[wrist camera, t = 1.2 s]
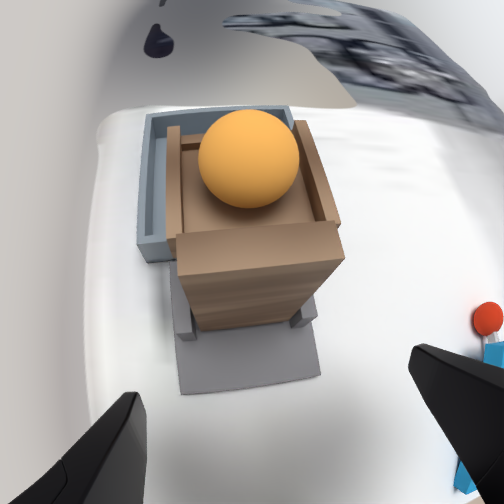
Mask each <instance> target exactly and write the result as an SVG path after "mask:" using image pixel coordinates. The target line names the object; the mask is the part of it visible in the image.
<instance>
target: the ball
mask: <svg viewBox="0 0 504 504" xmlns="http://www.w3.org/2000/svg"><path fill="white" fill-rule="evenodd" d="M198 164H199V170H200V174H201V177H202V179H203V181H204V183H205V185H206V186H207V187H208V189H209V190H210V191H211V192H212V193H213V194H214V195H215V196H216V197H217V198H219V199H220V200H221V201H223V202H225V203H227V204H229V205H232V206H235V207H240V208H258V207H262V206H265V205H268V204H270V203H272V202H274V201H276V200H277V199H279V198H280V197H281V196H283V195H284V194H285V193H286V192H287V191H288V189H289V188H290V186H291V185H292V184H293V182H294V180H295V177H296V175H297V172H298V167H299V151H298V146H297V143H296V140H295V138H294V136H293V134H292V133H291V131H290V130H289V128H288V127H287V126H286V125H285V124H284V123H283V122H282V121H281V120H279V119H278V118H276V117H275V116H273V115H271V114H269V113H266V112H263V111H259V110H252V109H246V110H239V111H234V112H231V113H229V114H227V115H225V116H223V117H221V118H220V119H218V120H217V121H216V122H215V123H214V124H212V125H211V127H210V128H209V129H208V130H207V132H206V133H205V135H204V137H203V139H202V141H201V144H200V148H199V153H198Z"/></svg>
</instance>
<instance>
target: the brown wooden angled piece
mask: <svg viewBox="0 0 504 504" xmlns="http://www.w3.org/2000/svg"><path fill="white" fill-rule="evenodd" d="M290 131H291V133H292V134H293V136H294V138H295V140H296V143H297V146H298V151H299V167H298V172H297V175H296V177H295V180H294V182H293V184H292V185H291V186H290V188H289V189H288V191H287V192H286V193H285V194H284V195H283V196H281V197H280V198H279V199H277V200H276V201H274V202H272V203H270V204H268V205H265V206H262V207H258V208H240V207H235V206H232V205H229V204H227V203H225V202H223V201H221V200H220V199H219V198H217V197H216V196H215V195H214V194H213V193H212V192H211V191H210V190H209V189H208V187H207V186H206V185H205V183H204V181H203V179H202V177H201V174H200V170H199V164H198V153H199V148H200V144H201V141H202V139H203V137H204V135H205V134H193V135H183V136H181V131H180V126H171V127H167V149H166V240H167V243H168V245H169V248H170V251H171V254H172V257H173V258H177V271H178V278H179V280H180V283H181V285H182V288H183V290H184V293H185V295H186V298H187V300H188V302H189V305H190V307H191V310H192V312H193V314H194V317H195V319H196V321H197V324H198V326H199V328H200V331H210V330H220V329H229V328H238V327H246V326H254V325H262V324H269V323H277V322H284V321H288V320H289V319H290V318H291V317H292V316H293V315H294V314H295V313H296V312H297V311H298V310H299V309H300V308H301V307H302V306H303V305H304V303H305V302H306V301H307V300H308V299H309V298H310V297H311V296H312V295H313V294H314V293H315V292H316V290H317V289H318V288H319V287H320V286H321V285H322V284H323V283H324V282H325V280H326V279H327V278H328V277H329V276H330V275H331V274H332V273H333V272H334V270H335V269H336V268H337V267H338V266H339V265H340V264H341V262H342V261H343V260H344V259H345V255H344V252H343V248H342V244H341V241H340V237H339V234H338V230H337V229H338V228H339V226H340V225H341V221H340V217H339V214H338V211H337V208H336V205H335V201H334V198H333V195H332V192H331V189H330V186H329V183H328V180H327V177H326V174H325V171H324V168H323V165H322V163H321V160H320V157H319V154H318V151H317V149H316V146H315V143H314V140H313V138H312V135H311V132H310V130H309V127H308V124H307V122H306V120H294V124H293V128H292V130H290Z"/></svg>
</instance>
